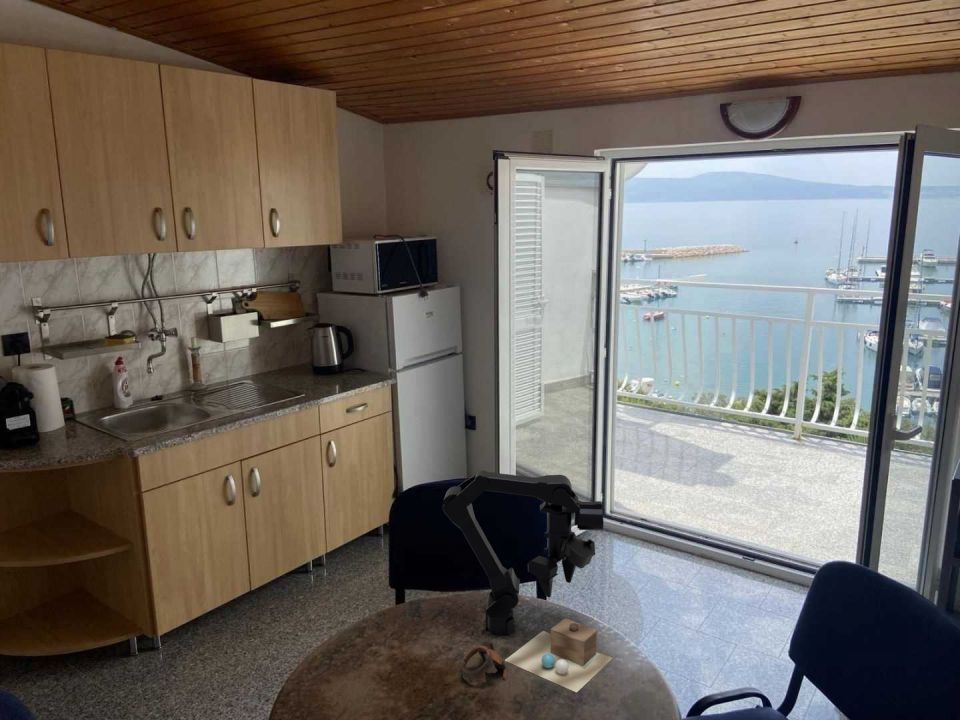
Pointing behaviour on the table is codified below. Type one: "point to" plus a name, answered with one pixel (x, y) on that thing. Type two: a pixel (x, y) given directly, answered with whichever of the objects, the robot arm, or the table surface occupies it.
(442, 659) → the table surface
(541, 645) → the serving board
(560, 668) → the marble ivory
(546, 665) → the marble teal
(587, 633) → the walnut cover
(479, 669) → the pottery mug
